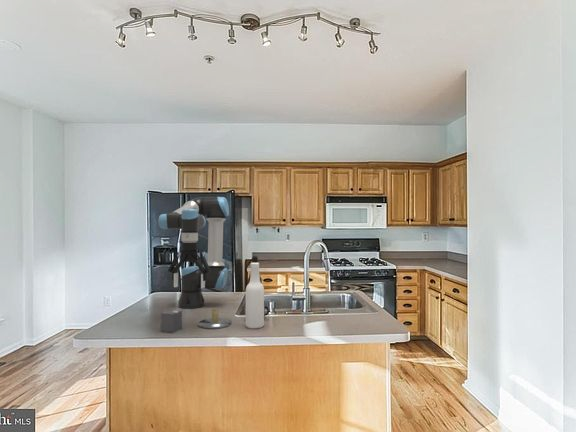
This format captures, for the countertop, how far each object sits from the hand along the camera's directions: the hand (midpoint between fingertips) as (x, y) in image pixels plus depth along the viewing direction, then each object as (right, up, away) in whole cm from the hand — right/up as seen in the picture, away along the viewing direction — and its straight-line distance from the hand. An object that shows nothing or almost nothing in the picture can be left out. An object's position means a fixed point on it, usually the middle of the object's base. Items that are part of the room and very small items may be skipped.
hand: (189, 287), depth 172 cm
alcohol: (+30, -19, +3) cm, 36 cm away
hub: (+11, -19, +6) cm, 23 cm away
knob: (-7, -19, -4) cm, 20 cm away
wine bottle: (+27, -20, +40) cm, 52 cm away
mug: (+31, -19, +15) cm, 39 cm away
